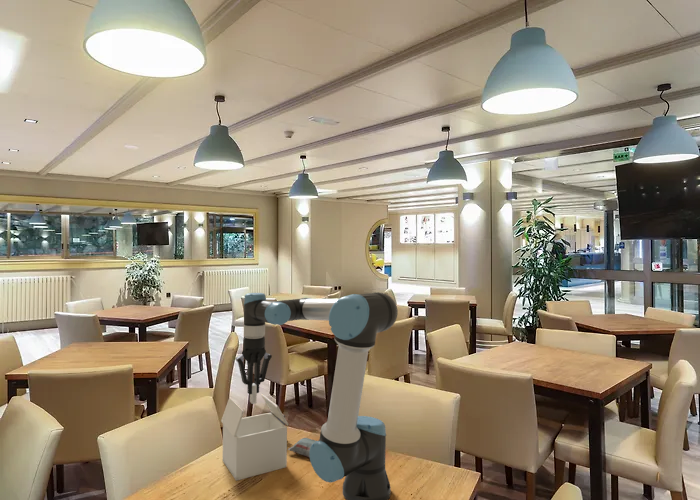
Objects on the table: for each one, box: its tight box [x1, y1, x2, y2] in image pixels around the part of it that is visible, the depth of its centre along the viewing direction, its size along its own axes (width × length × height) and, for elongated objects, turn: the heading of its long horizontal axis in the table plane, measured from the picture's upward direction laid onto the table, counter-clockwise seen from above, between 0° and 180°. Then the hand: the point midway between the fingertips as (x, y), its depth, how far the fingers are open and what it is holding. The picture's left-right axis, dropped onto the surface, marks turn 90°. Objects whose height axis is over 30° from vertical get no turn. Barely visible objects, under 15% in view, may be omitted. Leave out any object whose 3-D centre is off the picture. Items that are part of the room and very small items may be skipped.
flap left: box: [220, 397, 245, 437], centre depth 151 cm, size 15×8×1 cm
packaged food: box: [287, 437, 317, 458], centre depth 164 cm, size 9×12×5 cm
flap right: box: [260, 393, 289, 427], centre depth 159 cm, size 15×8×1 cm
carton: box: [222, 412, 288, 481], centre depth 155 cm, size 16×18×14 cm
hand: (253, 402), depth 155 cm, fingers closed
